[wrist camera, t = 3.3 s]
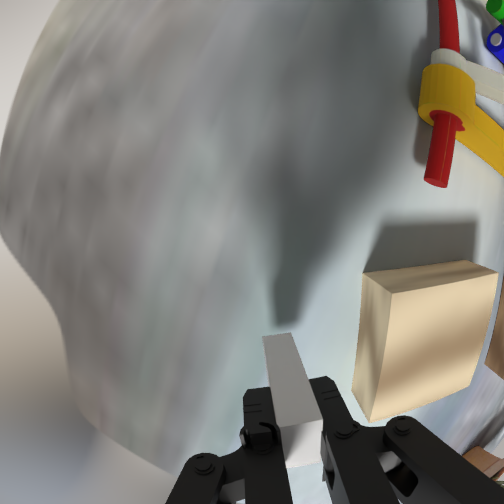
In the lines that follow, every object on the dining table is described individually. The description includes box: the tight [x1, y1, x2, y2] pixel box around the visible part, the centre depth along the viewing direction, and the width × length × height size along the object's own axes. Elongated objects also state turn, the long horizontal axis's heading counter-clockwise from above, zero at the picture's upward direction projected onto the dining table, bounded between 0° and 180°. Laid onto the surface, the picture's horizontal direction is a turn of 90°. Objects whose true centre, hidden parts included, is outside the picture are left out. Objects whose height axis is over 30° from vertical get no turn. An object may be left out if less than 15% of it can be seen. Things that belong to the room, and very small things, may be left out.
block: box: [351, 260, 499, 423], centre depth 16 cm, size 9×9×4 cm
